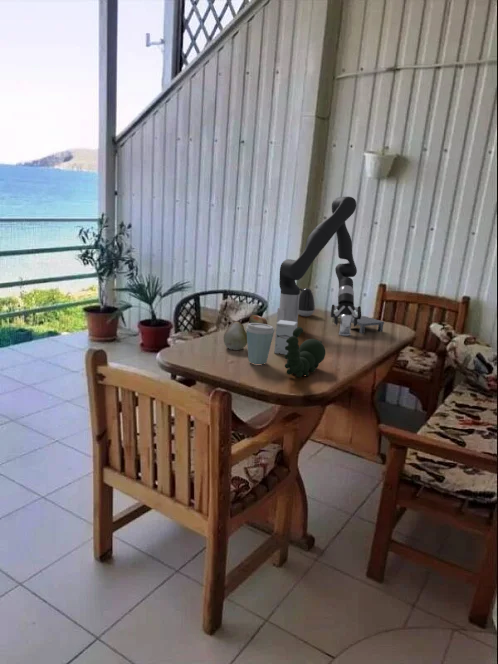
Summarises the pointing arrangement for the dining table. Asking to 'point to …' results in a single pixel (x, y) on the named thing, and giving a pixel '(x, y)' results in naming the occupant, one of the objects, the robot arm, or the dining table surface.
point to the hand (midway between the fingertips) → (345, 324)
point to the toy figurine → (303, 354)
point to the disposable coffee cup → (259, 342)
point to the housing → (345, 324)
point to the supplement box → (283, 335)
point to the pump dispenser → (306, 302)
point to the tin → (257, 319)
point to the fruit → (235, 336)
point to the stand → (368, 323)
